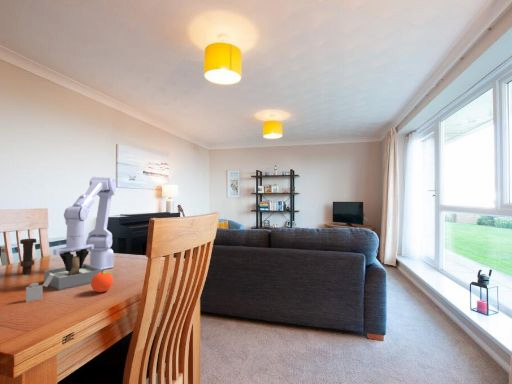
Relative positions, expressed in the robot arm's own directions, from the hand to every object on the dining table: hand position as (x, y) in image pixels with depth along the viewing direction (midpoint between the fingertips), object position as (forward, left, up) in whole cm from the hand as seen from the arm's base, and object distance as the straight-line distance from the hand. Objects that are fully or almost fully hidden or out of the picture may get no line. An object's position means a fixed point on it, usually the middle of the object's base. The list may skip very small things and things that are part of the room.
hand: (73, 269), depth 105 cm
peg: (0, 0, -2) cm, 2 cm away
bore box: (0, 0, -5) cm, 5 cm away
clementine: (-2, +21, -5) cm, 22 cm away
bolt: (+8, -28, -5) cm, 30 cm away
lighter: (+14, +12, -5) cm, 19 cm away
